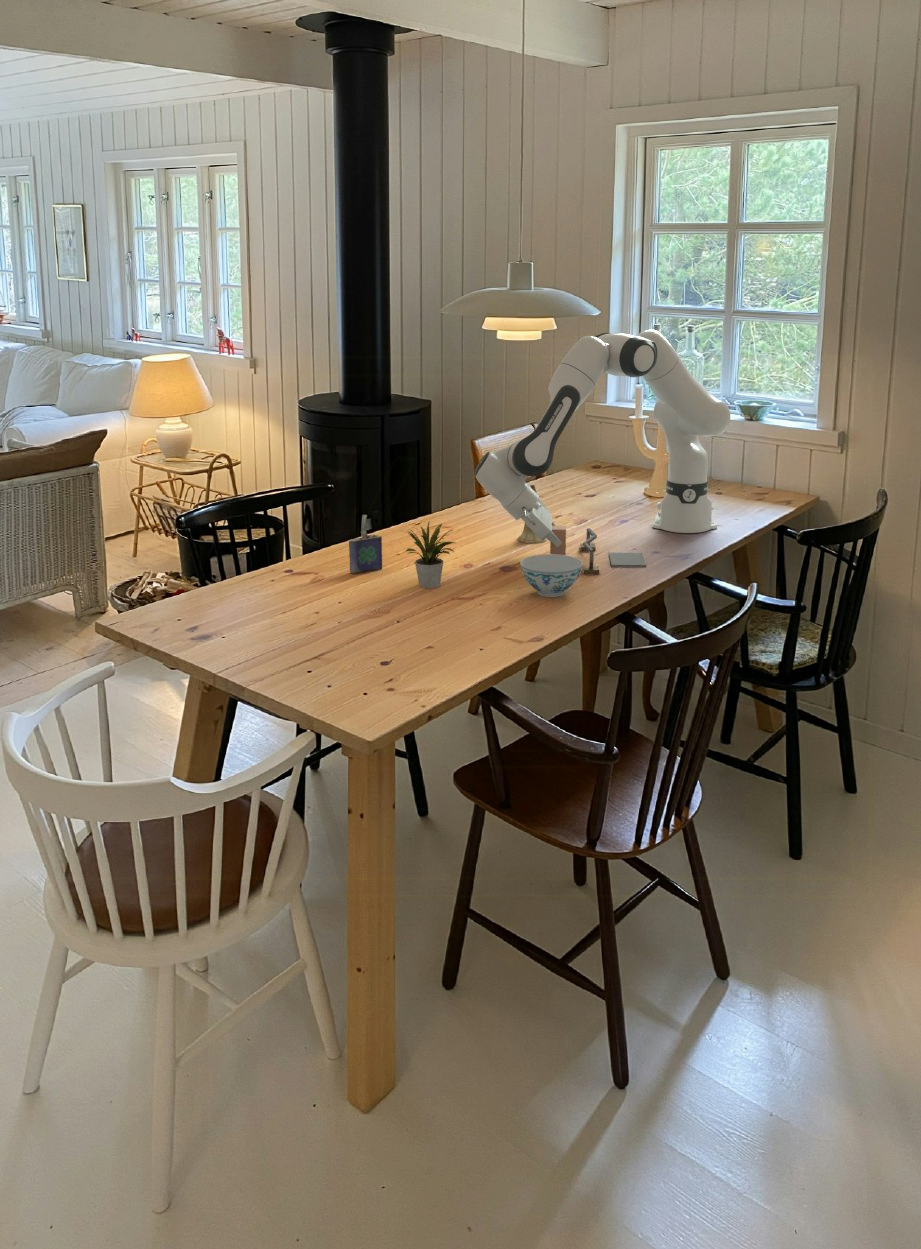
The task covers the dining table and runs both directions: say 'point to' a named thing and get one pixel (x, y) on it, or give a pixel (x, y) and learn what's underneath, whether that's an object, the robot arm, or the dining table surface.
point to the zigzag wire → (591, 548)
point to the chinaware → (551, 573)
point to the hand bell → (529, 532)
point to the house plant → (429, 557)
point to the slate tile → (627, 559)
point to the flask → (365, 553)
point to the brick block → (561, 534)
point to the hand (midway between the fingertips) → (559, 539)
